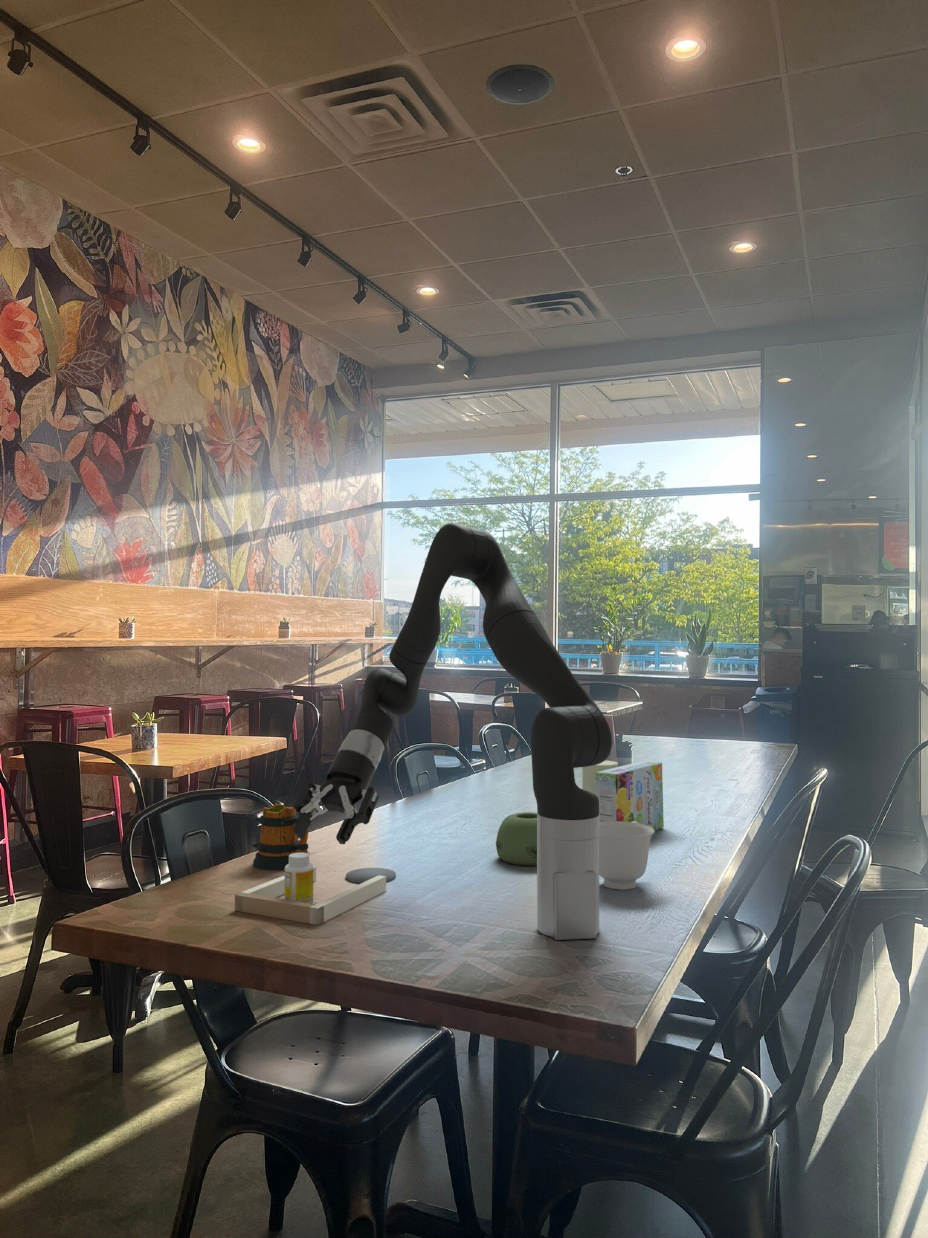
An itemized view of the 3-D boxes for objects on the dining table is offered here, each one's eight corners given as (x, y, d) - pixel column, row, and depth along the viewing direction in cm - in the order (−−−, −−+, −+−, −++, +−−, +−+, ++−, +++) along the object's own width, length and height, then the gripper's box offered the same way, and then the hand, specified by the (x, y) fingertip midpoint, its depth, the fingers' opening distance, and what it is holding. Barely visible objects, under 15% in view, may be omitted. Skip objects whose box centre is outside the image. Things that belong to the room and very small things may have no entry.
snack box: (642, 825, 207) (642, 760, 207) (664, 828, 203) (664, 762, 204) (594, 841, 190) (594, 770, 191) (617, 845, 187) (617, 773, 187)
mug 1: (240, 866, 169) (240, 805, 170) (277, 854, 178) (277, 796, 178) (292, 875, 163) (293, 812, 163) (328, 863, 172) (328, 803, 172)
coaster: (397, 883, 158) (397, 880, 158) (346, 885, 157) (346, 882, 157) (394, 869, 167) (394, 867, 167) (345, 871, 166) (345, 868, 166)
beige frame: (309, 879, 160) (309, 865, 160) (386, 891, 153) (386, 876, 153) (234, 910, 142) (234, 894, 142) (317, 925, 135) (318, 908, 135)
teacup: (669, 878, 162) (669, 822, 162) (641, 899, 149) (641, 839, 149) (606, 869, 168) (606, 815, 168) (574, 888, 155) (574, 830, 155)
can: (574, 806, 229) (574, 759, 229) (604, 803, 233) (604, 757, 233) (594, 813, 221) (594, 764, 221) (625, 810, 225) (625, 762, 225)
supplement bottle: (318, 904, 146) (318, 852, 146) (305, 912, 141) (305, 859, 141) (292, 902, 147) (292, 850, 147) (279, 910, 143) (279, 857, 143)
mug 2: (543, 871, 166) (543, 825, 166) (483, 862, 173) (483, 817, 173) (578, 853, 180) (578, 810, 180) (521, 845, 187) (521, 804, 187)
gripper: (315, 745, 160) (274, 821, 150) (383, 750, 154) (345, 830, 144) (331, 771, 165) (293, 846, 155) (398, 777, 159) (363, 856, 148)
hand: (318, 838), depth 149 cm, fingers open, 8 cm apart
